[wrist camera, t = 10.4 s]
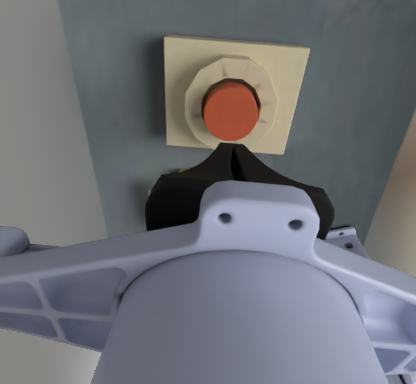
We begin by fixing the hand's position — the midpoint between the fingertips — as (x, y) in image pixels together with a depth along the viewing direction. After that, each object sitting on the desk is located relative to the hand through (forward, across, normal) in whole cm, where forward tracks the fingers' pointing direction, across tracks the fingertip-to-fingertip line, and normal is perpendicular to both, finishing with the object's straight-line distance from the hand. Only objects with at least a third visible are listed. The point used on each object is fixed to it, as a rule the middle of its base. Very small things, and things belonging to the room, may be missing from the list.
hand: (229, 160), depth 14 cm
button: (+6, 0, -1) cm, 6 cm away
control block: (+10, 0, -1) cm, 10 cm away
